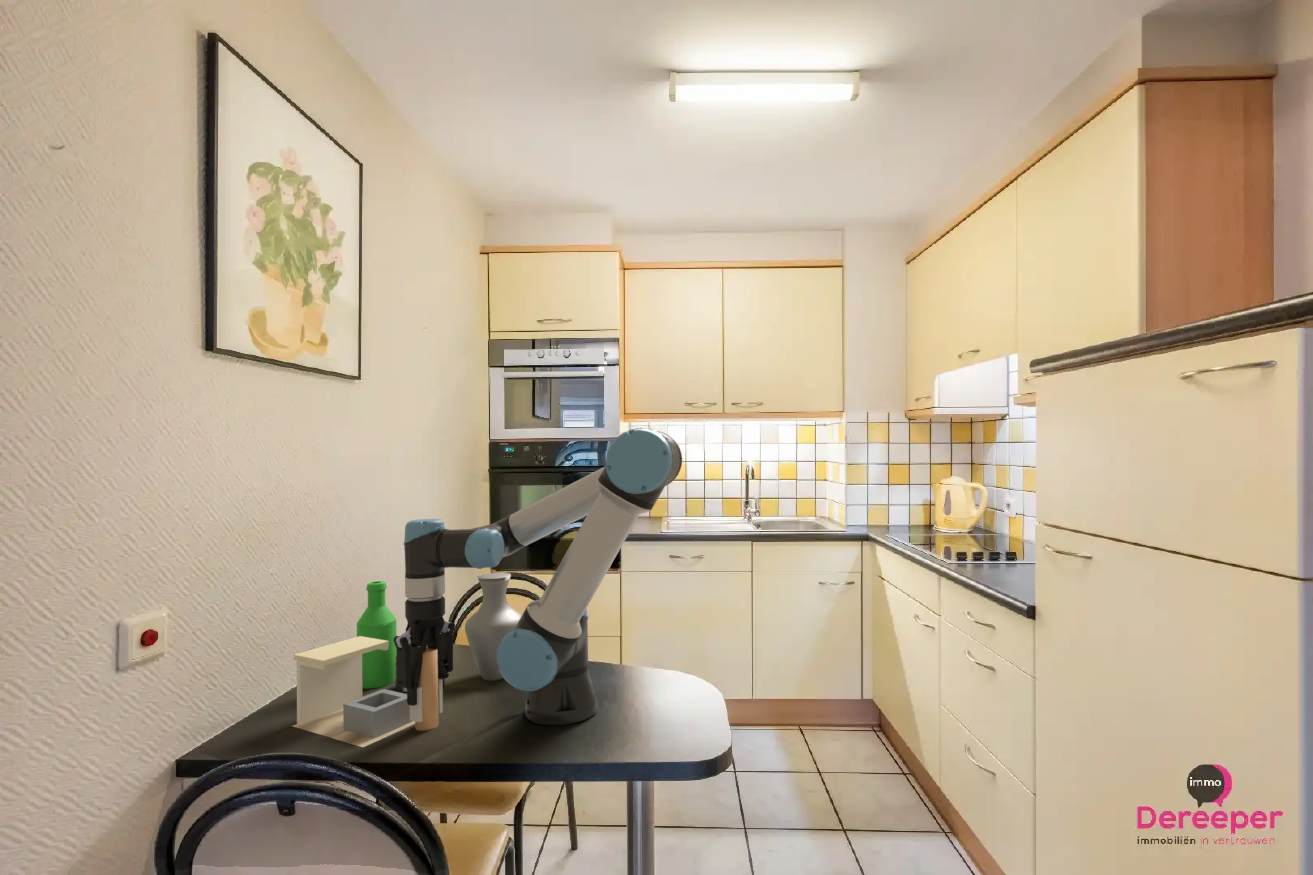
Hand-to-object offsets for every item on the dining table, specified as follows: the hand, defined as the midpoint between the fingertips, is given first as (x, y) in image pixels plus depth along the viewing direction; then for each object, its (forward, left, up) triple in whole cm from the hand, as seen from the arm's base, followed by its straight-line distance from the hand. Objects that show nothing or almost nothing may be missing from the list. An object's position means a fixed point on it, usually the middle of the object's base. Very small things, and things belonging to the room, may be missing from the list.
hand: (426, 715), depth 126 cm
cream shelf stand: (+20, +4, -2) cm, 20 cm away
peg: (0, 0, -3) cm, 3 cm away
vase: (+11, -31, -3) cm, 33 cm away
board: (+14, +4, -3) cm, 15 cm away
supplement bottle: (+22, -14, -3) cm, 26 cm away
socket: (+9, +4, -2) cm, 10 cm away
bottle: (+32, -13, -3) cm, 35 cm away
